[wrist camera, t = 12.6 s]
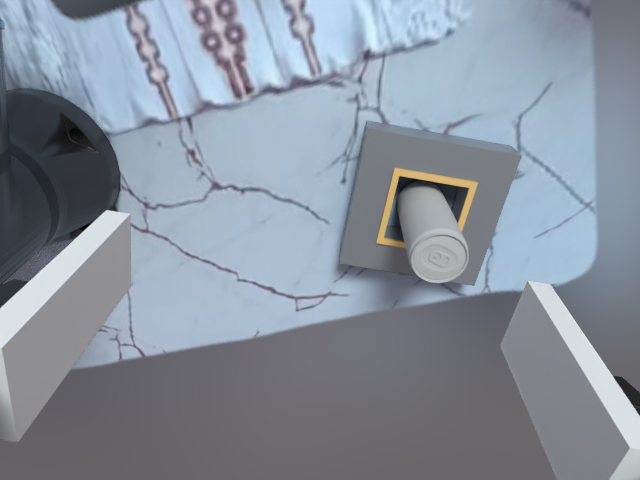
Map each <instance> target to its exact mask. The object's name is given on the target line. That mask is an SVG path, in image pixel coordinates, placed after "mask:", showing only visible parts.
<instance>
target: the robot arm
mask: <svg viewBox="0 0 640 480" xmlns="http://www.w3.org/2000/svg"><path fill="white" fill-rule="evenodd" d="M2 29H4V22H3V20H2V19H1V18H0V285H1V284H2V283H3V282H4V281H6V280H7V279H8V278H9V277H10V276H11V275H12V274H13V273H15V272H16V271H17V270H18V269H19V268H20V267H21V266H22V265H24V264H25V263H26V262H27V261H28V260H29V259H30V258H31V257H33V256H34V255H35V254H36V253H37V252H38V251H39V250H40V249H42V248H43V247H44V246H48V245H51V244H55V243H59V242H62V241H66V240H70V239H73V238H76V237H77V238H76V239H75V240H74V241H72V242H71V243H70V244H69V245H68V246H67V247H66V248H65V249H64V250H63V251H62V252H61V253H59V254H58V255H57V256H56V257H55V258H54V259H53V260H52V261H51V262H50V263H49V264H48V265H46V266H45V267H44V268H43V269H42V270H41V271H40V272H39V273H38V274H37V275H36V276H35V277H34V278H32V279H31V280H30V281H29V282H27V281H21V280H15V279H14V280H12V281H9V282H7V283H5V284H3V285H1V286H0V439H1V440H7V441H13V442H18V441H19V440H20V438H21V437H22V436H23V434H24V433H25V432H26V430H27V429H28V427H29V426H30V425H31V423H32V422H33V421H34V419H35V418H36V416H37V415H38V414H39V412H40V411H41V409H42V408H43V407H44V405H45V404H46V403H47V401H48V400H49V398H50V397H51V396H52V394H53V393H54V392H55V390H56V389H57V387H58V386H59V385H60V383H61V382H62V381H63V379H64V378H65V376H66V375H67V374H68V372H69V371H70V370H71V368H72V367H73V365H74V364H75V363H76V361H77V360H78V358H79V357H80V356H81V354H82V353H83V352H84V350H85V349H86V347H87V346H88V345H89V343H90V342H91V341H92V339H93V338H94V336H95V335H96V334H97V332H98V331H99V330H100V328H101V327H102V325H103V324H104V323H105V321H106V320H107V318H108V317H109V316H110V314H111V313H112V312H113V310H114V309H115V307H116V306H117V305H118V303H119V302H120V301H121V299H122V298H123V296H124V295H125V294H126V292H127V291H128V289H129V288H130V287H131V228H130V214H127V213H121V212H115V211H111V209H112V208H113V206H114V204H115V202H116V199H117V196H118V193H119V186H120V173H119V166H118V162H117V159H116V156H115V153H114V150H113V148H112V146H111V144H110V142H109V140H108V139H107V137H106V135H105V134H104V133H103V131H102V130H101V129H100V127H99V126H98V125H97V124H96V123H95V121H94V120H93V119H92V118H91V117H90V116H88V115H87V114H86V113H85V112H84V111H83V110H81V109H80V108H79V107H77V106H76V105H74V104H73V103H71V102H69V101H68V100H66V99H64V98H62V97H60V96H57V95H55V94H52V93H49V92H45V91H41V90H36V89H13V90H8V91H6V82H5V69H4V56H3V43H2ZM500 347H501V349H502V351H503V354H504V356H505V358H506V361H507V363H508V365H509V367H510V370H511V372H512V375H513V377H514V379H515V382H516V384H517V387H518V389H519V391H520V393H521V396H522V398H523V401H524V403H525V405H526V407H527V410H528V412H529V415H530V417H531V419H532V422H533V424H534V426H535V429H536V431H537V434H538V436H539V438H540V441H541V443H542V445H543V448H544V450H545V452H546V454H547V457H548V459H549V462H550V464H551V466H552V469H553V471H554V473H555V476H556V478H557V480H640V393H639V392H638V391H637V390H636V389H635V388H634V387H633V386H631V385H630V384H629V383H628V382H627V381H626V380H625V379H623V378H622V377H618V376H612V375H611V373H610V372H609V370H608V369H607V367H606V366H605V364H604V363H603V361H602V360H601V358H600V357H599V355H598V354H597V353H596V351H595V350H594V348H593V347H592V345H591V344H590V342H589V341H588V339H587V338H586V336H585V335H584V333H583V332H582V331H581V329H580V328H579V326H578V325H577V323H576V322H575V320H574V319H573V317H572V316H571V314H570V313H569V311H568V310H567V309H566V307H565V306H564V304H563V303H562V301H561V300H560V298H559V297H558V295H557V294H556V292H555V291H554V289H553V288H552V286H551V285H550V284H544V283H538V282H532V281H527V283H526V286H525V288H524V291H523V293H522V295H521V298H520V300H519V302H518V305H517V307H516V310H515V312H514V314H513V317H512V319H511V321H510V324H509V326H508V329H507V331H506V333H505V336H504V338H503V340H502V343H501V345H500Z"/></svg>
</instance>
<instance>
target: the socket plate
mask: <svg viewBox="0 0 640 480" xmlns="http://www.w3.org/2000/svg"><path fill="white" fill-rule="evenodd" d="M520 159H521V155H520V154H519V153H518V152H517V151H516V150H515V149H514V148H513V147H512V146H508V145H503V144H497V143H491V142H486V141H480V140H474V139H469V138H463V137H457V136H452V135H446V134H440V133H435V132H429V131H423V130H417V129H412V128H406V127H400V126H395V125H389V124H383V123H378V122H372V121H367V122H366V127H365V132H364V137H363V141H362V146H361V151H360V156H359V161H358V165H357V170H356V175H355V180H354V185H353V190H352V194H351V199H350V204H349V209H348V214H347V219H346V223H345V228H344V233H343V238H342V243H341V248H340V264H346V265H352V266H358V267H364V268H370V269H376V270H382V271H388V272H394V273H400V274H406V275H412V276H418V275H417V274H416V273H415V272H414V270H413V269H412V267H411V265H410V263H409V260H408V255H407V251H406V246H405V242H404V238H403V233H402V229H401V228H399V227H393V226H388V225H387V223H388V219H389V215H390V212H391V208H392V204H393V200H394V196H395V192H396V188H397V184H398V180H399V176H403V177H409V178H414V179H420V180H426V181H432V182H438V183H443V184H449V185H455V186H459V188H458V191H457V194H456V197H455V201H454V204H453V207H452V210H451V211H452V213H453V215H454V217H455V219H456V221H457V223H458V226H459V228H460V230H461V232H462V234H463V236H464V238H465V241H466V243H467V245H468V252H469V259H468V264H467V266H466V268H465V270H464V271H463V272H462V273H461V274H460V275H459V276H458V277H456V278H455V279H453V280H451V281H448V282H454V283H460V284H466V285H472V286H474V285H475V282H476V279H477V277H478V274H479V271H480V269H481V266H482V263H483V260H484V258H485V255H486V252H487V249H488V247H489V244H490V241H491V238H492V236H493V233H494V230H495V227H496V225H497V222H498V219H499V216H500V214H501V211H502V208H503V205H504V203H505V200H506V197H507V194H508V192H509V189H510V186H511V184H512V181H513V178H514V175H515V173H516V170H517V167H518V164H519V162H520ZM418 277H419V276H418Z"/></svg>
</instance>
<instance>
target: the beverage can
mask: <svg viewBox="0 0 640 480" xmlns="http://www.w3.org/2000/svg"><path fill="white" fill-rule="evenodd" d="M397 211H398V215H399V220H400V224H401V229H402V233H403V238H404V242H405V246H406V251H407V255H408V260H409V263H410V265H411V267H412V269H413V270H414V272H415V273H416V274H417V275H418V276H419V277H420V278H421V279H423V280H425V281H427V282H431V283H444V282H448V281H451V280H453V279H455V278H456V277H458V276H459V275H460V274H461V273H462V272H463V271H464V270H465V268H466V266H467V264H468V259H469V252H468V245H467V243H466V241H465V238H464V236H463V234H462V232H461V230H460V228H459V226H458V223H457V221H456V219H455V217H454V215H453V213H452V211H451V209H450V207H449V205H448V203H447V201H446V199H445V197H444V195H443V193H442V191H441V190H440V189H439V187H438V186H436V185H435V184H434V183H432V182H429V181H416V182H413V183H411V184H408V185H407V186H406V187H405V188H403V190H402V191H401V192H400V193H399V196H398V198H397Z"/></svg>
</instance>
